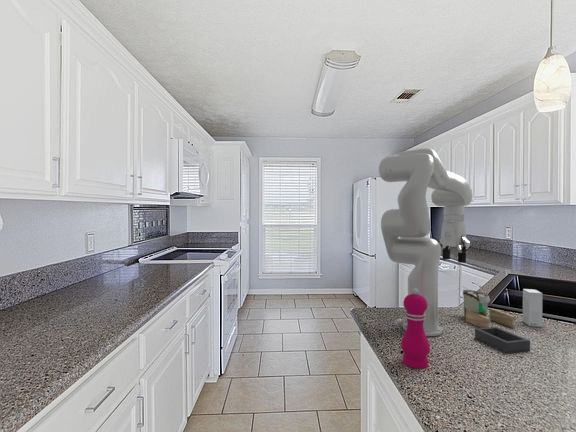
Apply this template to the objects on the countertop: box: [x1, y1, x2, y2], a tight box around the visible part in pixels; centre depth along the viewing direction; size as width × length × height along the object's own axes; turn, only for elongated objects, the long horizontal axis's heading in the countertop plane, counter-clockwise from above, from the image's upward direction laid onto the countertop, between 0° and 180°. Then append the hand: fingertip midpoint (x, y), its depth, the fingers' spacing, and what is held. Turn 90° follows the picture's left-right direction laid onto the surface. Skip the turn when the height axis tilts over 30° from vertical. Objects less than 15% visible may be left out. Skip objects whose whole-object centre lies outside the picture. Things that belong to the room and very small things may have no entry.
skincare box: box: [522, 288, 543, 328], centre depth 120 cm, size 6×4×12 cm
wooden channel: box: [465, 307, 516, 329], centre depth 120 cm, size 11×10×4 cm
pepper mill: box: [400, 288, 431, 370], centre depth 89 cm, size 7×7×20 cm
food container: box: [462, 289, 491, 318], centre depth 125 cm, size 12×6×10 cm, turn 179°
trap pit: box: [474, 326, 531, 354], centre depth 102 cm, size 8×12×3 cm, turn 12°
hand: (453, 260), depth 138 cm, fingers open, 8 cm apart
